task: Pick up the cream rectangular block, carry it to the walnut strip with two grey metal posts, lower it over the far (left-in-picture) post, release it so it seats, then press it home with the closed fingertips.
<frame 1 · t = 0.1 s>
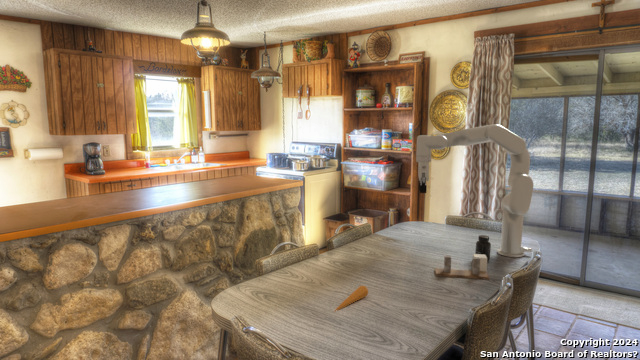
hand: (422, 191, 214), 31 cm above the table, fingers open, 9 cm apart
carrot: (349, 303, 152), on the table
supplement bottle: (482, 260, 200), on the table
post strip: (461, 274, 180), on the table
cream rectangular block: (479, 269, 186), on the table
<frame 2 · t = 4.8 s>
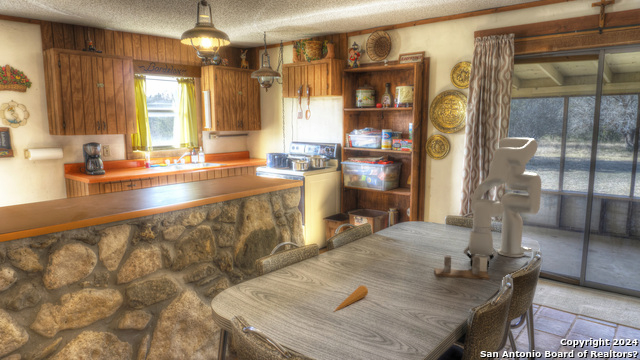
hand: (479, 267, 186), 1 cm above the table, fingers closed on cream rectangular block, 5 cm apart
cream rectangular block: (479, 269, 186), on the table, touching gripper
everything else where it was.
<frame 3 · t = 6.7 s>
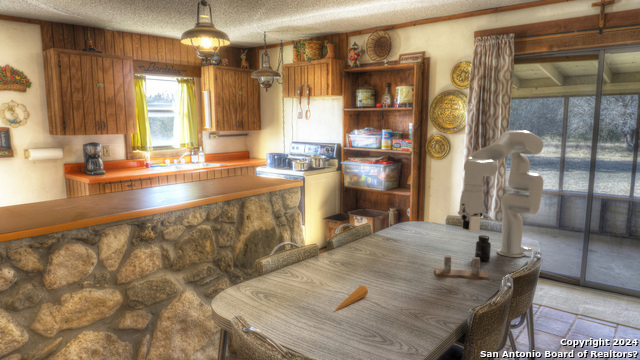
hand: (470, 228, 182), 20 cm above the table, fingers closed on cream rectangular block, 5 cm apart
cream rectangular block: (470, 230, 182), point 19 cm above the table, touching gripper
everything else where it was.
when the fingers open (5 cm above the table, at t = 10.9 s): cream rectangular block drops 2 cm, resting on post strip.
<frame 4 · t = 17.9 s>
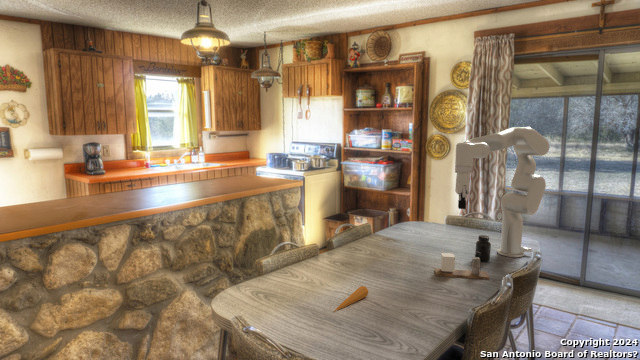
hand: (461, 208, 190), 27 cm above the table, fingers closed
cream rectangular block: (447, 269, 181), point 2 cm above the table, touching post strip
everything else where it was.
at the end: cream rectangular block 0.1 cm from the target spot, point 2.0 cm above the table; the gripper is holding nothing; cream rectangular block tilted 0° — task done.
